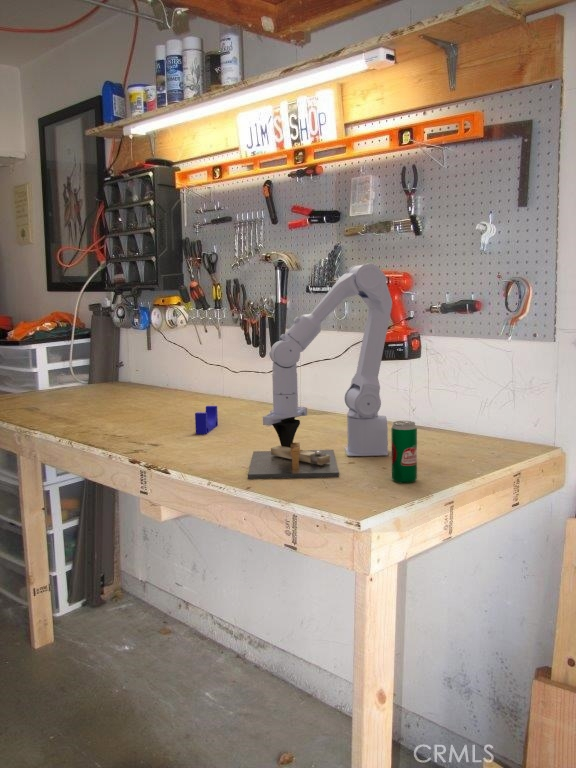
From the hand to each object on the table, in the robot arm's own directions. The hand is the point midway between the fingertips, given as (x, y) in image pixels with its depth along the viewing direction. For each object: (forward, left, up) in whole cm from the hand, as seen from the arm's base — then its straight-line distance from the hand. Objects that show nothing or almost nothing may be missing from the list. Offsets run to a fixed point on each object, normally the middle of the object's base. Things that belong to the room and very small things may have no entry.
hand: (286, 450), depth 159 cm
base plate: (-2, +7, -2) cm, 7 cm away
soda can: (-24, +20, -2) cm, 32 cm away
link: (-3, +6, 0) cm, 6 cm away
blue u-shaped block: (+24, -34, -2) cm, 42 cm away
